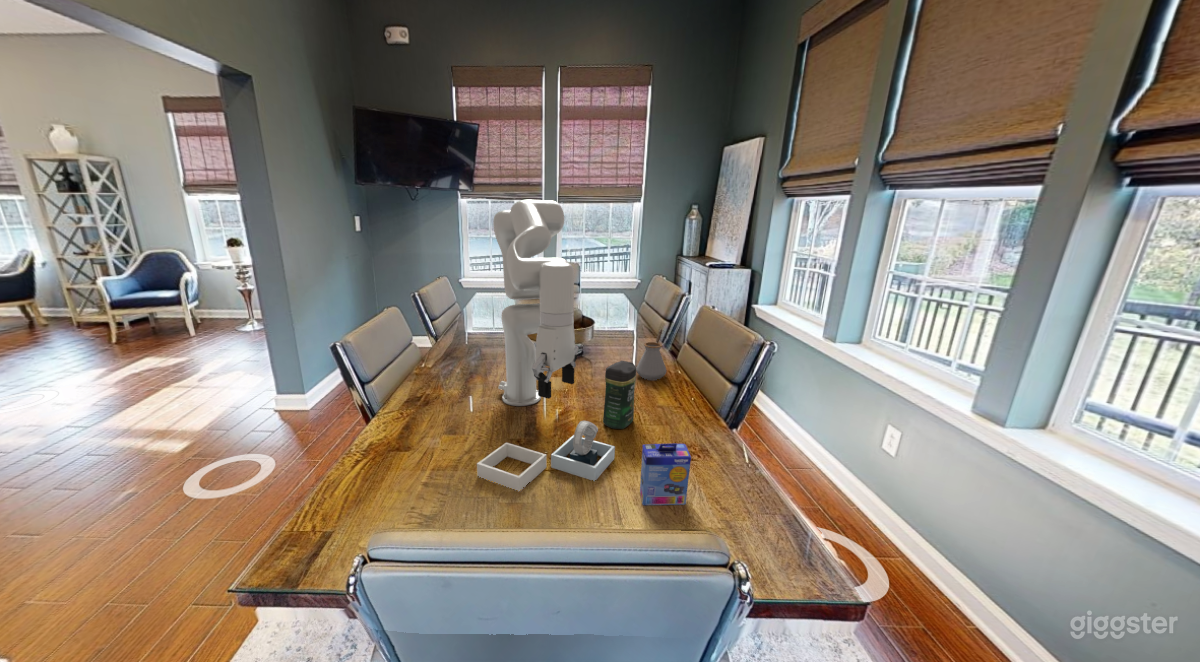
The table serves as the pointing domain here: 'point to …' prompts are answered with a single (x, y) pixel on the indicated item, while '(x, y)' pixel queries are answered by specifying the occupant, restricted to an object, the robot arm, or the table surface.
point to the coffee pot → (652, 361)
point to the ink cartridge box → (664, 474)
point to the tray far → (578, 467)
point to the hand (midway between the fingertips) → (556, 389)
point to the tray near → (506, 478)
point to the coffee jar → (619, 395)
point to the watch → (584, 451)
